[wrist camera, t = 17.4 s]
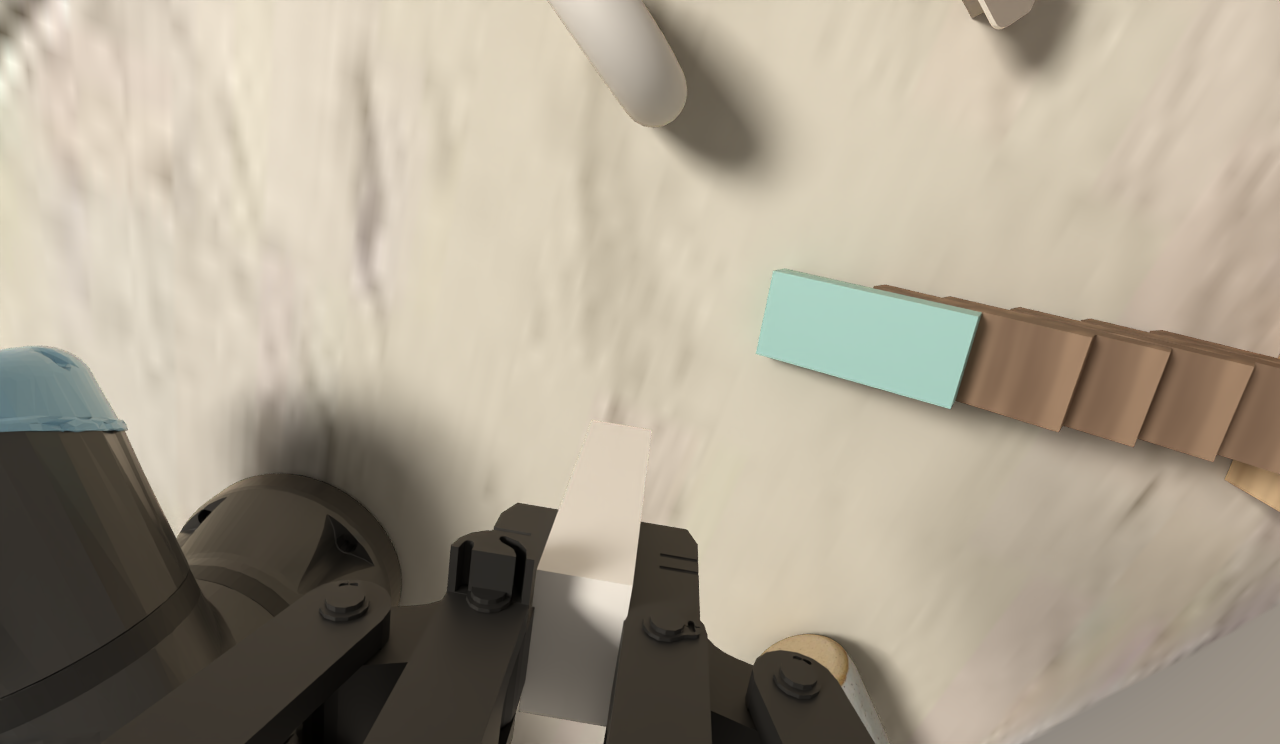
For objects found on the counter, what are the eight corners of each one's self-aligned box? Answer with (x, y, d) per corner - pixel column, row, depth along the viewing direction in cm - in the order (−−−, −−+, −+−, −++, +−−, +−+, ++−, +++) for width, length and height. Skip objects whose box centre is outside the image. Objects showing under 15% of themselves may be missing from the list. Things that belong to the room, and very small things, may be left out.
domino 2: (916, 380, 41) (1133, 447, 35) (940, 298, 40) (1170, 352, 34) (927, 375, 43) (1136, 438, 37) (950, 296, 42) (1172, 348, 35)
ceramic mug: (836, 611, 48) (861, 692, 41) (877, 702, 50) (907, 795, 43) (695, 658, 50) (694, 744, 43) (739, 744, 52) (746, 840, 45)
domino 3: (984, 390, 41) (1213, 461, 35) (1010, 308, 40) (1254, 366, 33) (994, 386, 43) (1215, 453, 36) (1019, 307, 41) (1254, 362, 35)
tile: (756, 353, 41) (950, 409, 37) (773, 270, 40) (978, 316, 35) (767, 348, 43) (955, 400, 38) (784, 268, 42) (982, 312, 37)
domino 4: (1052, 401, 41) (1293, 478, 34) (1081, 320, 40) (1339, 382, 33) (1063, 397, 43) (1296, 471, 35) (1091, 318, 41) (1340, 378, 34)
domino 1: (852, 368, 41) (1058, 432, 35) (873, 286, 40) (1092, 337, 34) (864, 364, 43) (1063, 424, 37) (885, 284, 42) (1096, 333, 36)
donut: (699, 106, 39) (704, 88, 30) (650, 144, 40) (639, 139, 31) (592, -54, 37) (560, -128, 28) (542, -10, 38) (494, -68, 29)
